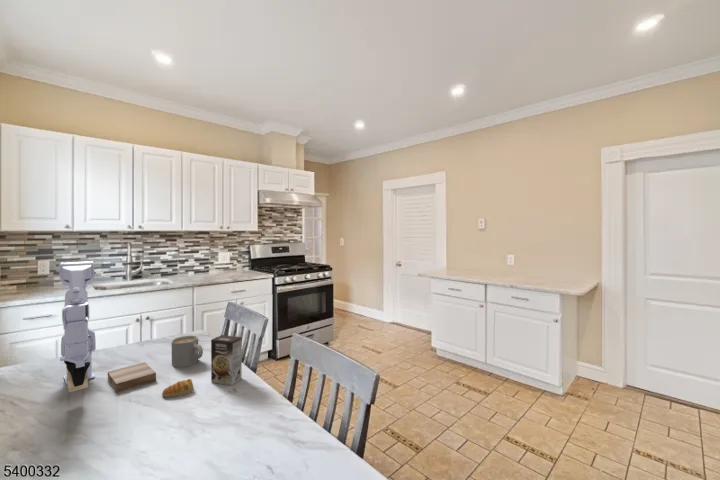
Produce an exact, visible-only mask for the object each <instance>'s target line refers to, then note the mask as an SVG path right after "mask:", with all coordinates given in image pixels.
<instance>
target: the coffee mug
mask: <svg viewBox="0 0 720 480" xmlns="http://www.w3.org/2000/svg"><path fill="white" fill-rule="evenodd" d="M203 351H204V349H203V346H202V345H200V344H199V337H198V336H197V335H182V336H178V337H176V338H172V340H171V366H172V367H173V368H180V369H181V368H186V367H190V366H194V365H196V364H197V363H198V362H199V359H200V358H202V357H203V354H204V352H203Z"/></svg>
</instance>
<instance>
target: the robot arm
mask: <svg viewBox="0 0 720 480" xmlns="http://www.w3.org/2000/svg"><path fill="white" fill-rule="evenodd" d="M58 266H59V267H58V273H59V274H58V275H59V280H60V283H61V285H63V286H67V287H68V288H69V289H68V290H67V291H66V292H65V294H64V307H62V310H61V321H62V325H63V330H64V331H63V332H64V334H63V335H62V336H61V339H60V340H61V341H60V356H61V357H59V361H60V362H63V363H64V364H65V368H66V374H65V375H63V380H64V382H65V385H66V386H67V369H68V371H69V372H70V374H71V376H72V381H73V384H74V387H76V386H80V385H83V383H84V379H85V375H86V372H87V377H88V380H92V379H94V378H95V377H96V376H95V374H94V373H93V370H92V369H93V366H92V364H93V363H92V354H93V353H92V352H95V351H96V350H97V349H96V347H97V346H96V340H97V339H96V332H95V330H93V329H91V328H89V321H90V305H89V301H88V299H89V298H88V290H87V286H88V285H89V284H91V283H93V282H94V280H95V261H93V260H92V261H91V260H90V261H72V262H70V261H69V262H63V261H62V262H60V263H59V265H58ZM86 318H87V319H86Z"/></svg>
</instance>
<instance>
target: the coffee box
mask: <svg viewBox="0 0 720 480" xmlns="http://www.w3.org/2000/svg"><path fill="white" fill-rule="evenodd" d="M210 340H211V342H210V350H211V351H210V353H211V354H210V357H211V358H210V360H211V361H210V362H211V364H210V365H211V366H210V368H211V369H210V371H211V372H210V374H211V375H210V377H211V380H210V381H211V384H212V383H213V384H219V385H226V386H233V385H235V384H236V383H238V382H239V381H240V380H241V379H242V377H243V376H242V373H243V372H242V369H243V368H242V366H243V365H242V364H243V363H242V361H243V358H242V357H243V356H242V354H243V349H242V348H243V336H234V335H225V334H221V335H218V336H216V337H214V338H212V339H210Z"/></svg>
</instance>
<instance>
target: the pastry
mask: <svg viewBox="0 0 720 480" xmlns="http://www.w3.org/2000/svg"><path fill="white" fill-rule="evenodd" d="M194 390H195V387H194V384H193V380H192V378H188V379H183V380H180V381H177V382H175V383H174V384H172V385H169V386H168V387H166V388H164V389H163V390H162V394H161V395H162V397H165V398H168V399H169V398H176V397H181V396H184V395H188V394H191V393H193V392H194Z"/></svg>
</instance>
